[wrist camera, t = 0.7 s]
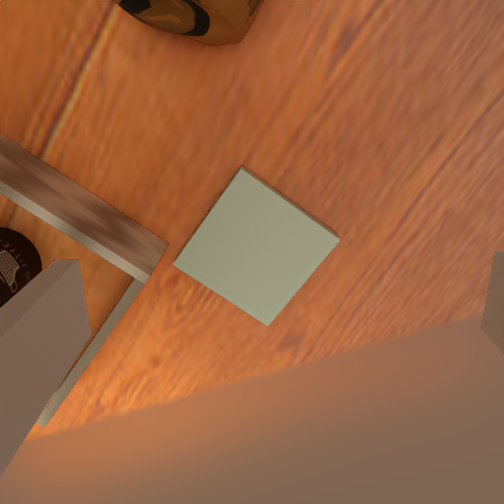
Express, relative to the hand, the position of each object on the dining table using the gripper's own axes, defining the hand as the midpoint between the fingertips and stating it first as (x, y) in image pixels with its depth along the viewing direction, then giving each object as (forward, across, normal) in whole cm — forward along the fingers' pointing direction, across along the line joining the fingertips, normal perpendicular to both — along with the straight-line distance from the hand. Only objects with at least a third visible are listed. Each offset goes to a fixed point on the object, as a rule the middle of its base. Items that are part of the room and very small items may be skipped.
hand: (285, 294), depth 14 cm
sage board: (+23, -1, -7) cm, 24 cm away
